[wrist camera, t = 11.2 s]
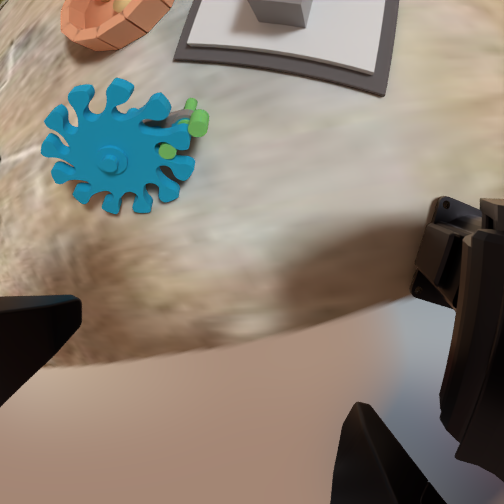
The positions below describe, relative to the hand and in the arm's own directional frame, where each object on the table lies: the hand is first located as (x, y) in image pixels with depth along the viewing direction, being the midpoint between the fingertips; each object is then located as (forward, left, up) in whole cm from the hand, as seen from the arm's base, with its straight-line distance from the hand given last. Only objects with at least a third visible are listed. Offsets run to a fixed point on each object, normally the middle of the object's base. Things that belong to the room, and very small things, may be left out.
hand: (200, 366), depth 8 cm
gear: (+10, -5, -12) cm, 17 cm away
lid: (+3, -19, -12) cm, 22 cm away
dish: (+17, -18, -12) cm, 28 cm away
